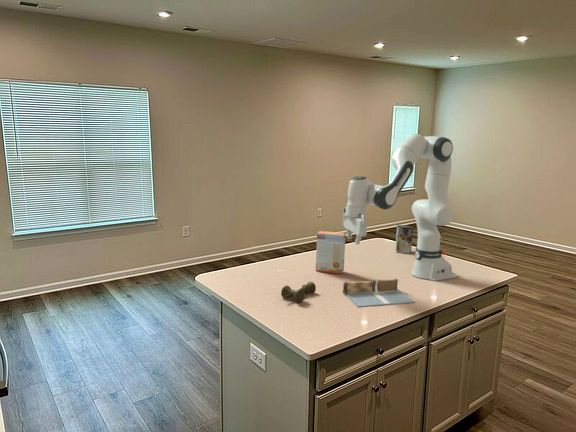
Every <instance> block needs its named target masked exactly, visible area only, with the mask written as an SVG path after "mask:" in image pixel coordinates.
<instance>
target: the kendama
mask: <svg viewBox="0 0 576 432" xmlns="http://www.w3.org/2000/svg"><path fill="white" fill-rule="evenodd" d="M281 288H282V289H281V293H280V294H281V297H282V298H283V299H287V298H291V299H293V300H294V301H295V303H296V304H301V303H302V302H304V300H305V297H306V295H309V294H310V293H312V294H313V293H315V292H316V284H315V283H314V282H312V281H309V282H307V283H306V284H302V286H301V288H299V289H297V290H294V289H292V288H291V287H290V285H284V286H283V287H281Z"/></svg>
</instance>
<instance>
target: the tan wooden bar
mask: <svg viewBox="0 0 576 432" xmlns="http://www.w3.org/2000/svg"><path fill="white" fill-rule="evenodd" d="M342 286H343V289H342V291H343V292H342V293H343V294H344V293H355V292H370V291H375V288H377V280H375V279H372V280H367V281H365V280H364V281H352V282H347V281H343V284H342Z"/></svg>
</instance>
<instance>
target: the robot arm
mask: <svg viewBox="0 0 576 432" xmlns="http://www.w3.org/2000/svg"><path fill="white" fill-rule="evenodd" d="M453 151H454V145H453V142H452V141H451V139H449V138H447V137H444V136H437V135H429V136H428V135H427V136H424V135H421V134H419V133H413V134H411V135H409V136H408V137H406V138H405V139H404V140H403V141H402V142H401V143H400V144H399V145H398V146H397V148H395V150H394V152H393V153H392V155H391V164H392V166H393V167H394V168H395V170H396V173H395V175H394V176H393V178H392V179H391V181H390V182H389V184H386V185H380V184H376V183H374V182H372V181H371V180H369V179H368V177H367V176H362V175H361V176H360V175H359V176H354V177H352V178H351V179H350V181H349V184H348V189H347V199H348V200H347V203H346V206H345V207H343V209H342V212H343V215H342V226H343V228H345V229H346V236H347V237H346V238H347V240H352V238H353V235H352V233H353V234H354V235H355V236H356V239H354V244H355V245H360V243H361V239H362V238H363V237H366V236H367V234H368V221H367V220H366V214H367V205H371V206H373V207H374V206H375V207H377V208H379V209H381V210H389V209H391V208H392V207H393V206H394V205H395V204H396V202H397V200H398V197H399V195H400V193H401V191H402V190H403V188H404V187H405V185H407V182H408V181H409V179H410V178H411V176H412V174H413V172H414V168H415V167H414V166H415V164H416V163H417V162H418V160H419V159H421V158H422V159H425V160H426V159H428V161H429V164H428V168H427V173H426V176H425V177H426V179H425V183H424V190H425V192H426V194H427V199H426V198H425V199H424V198H423V199H417V200H415V201H414V202H413V204H412V205H411V212H412V215H413V216H414V219H415V223H416V229H417V243H416V248H415V255H414V256H415V259H414V263H413V267H412V270H411V275H412V276H414V277H417V278H419V279H423V280H424V279H426V280H429V281H434V282H437V281H444V280H450V279H455V278H457V274H456V273H455V272H453V270H452V269H453V268H452V264H451V263H450V262H449V261H447V260H446V259H445V258H444V257H443V256H445V255H446V254H447V252H446V251H445V250H441V249H440V248H441V238H442V237H441V236H442V235H441V233H440V231H439V229H438V227H437V226H447V225H449V224H450V223H451V222H452V220H453V218H454V213H453V210H452V208H451V206H450V203H449V202H450V201H449V196H448V195H449V193H448V192H449V185H450V178H451V172H452V163H453V162H452V154H453Z"/></svg>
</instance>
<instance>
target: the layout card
mask: <svg viewBox="0 0 576 432" xmlns="http://www.w3.org/2000/svg"><path fill="white" fill-rule="evenodd" d="M398 281H399V279H398V278H394V279H383V280H382V279H377V280H376V287H375V291H370V292H355V293H343V290H342V291H341V292H342V293H343V294H344V295H345V296H346V297H347V298H348V299H349V300H350V301H351V302H352V303H353V304H354V305H355V306H356V307H357V308H363V307H365V308H366V307H375V306H390V305H400V304H401V305H402V304H413V303H416V301H415V300H414V299H412V298H411V297H409V296H408V295H407V294H406V293H404V292H403V291H401V290H400V289H399V288H398Z"/></svg>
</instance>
